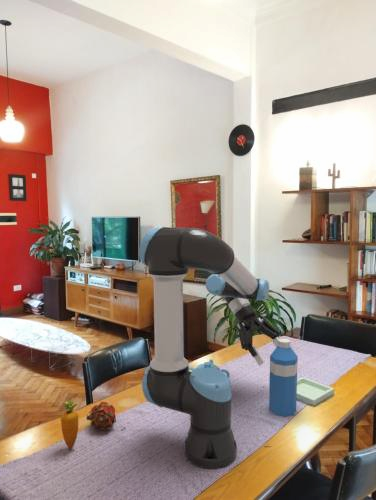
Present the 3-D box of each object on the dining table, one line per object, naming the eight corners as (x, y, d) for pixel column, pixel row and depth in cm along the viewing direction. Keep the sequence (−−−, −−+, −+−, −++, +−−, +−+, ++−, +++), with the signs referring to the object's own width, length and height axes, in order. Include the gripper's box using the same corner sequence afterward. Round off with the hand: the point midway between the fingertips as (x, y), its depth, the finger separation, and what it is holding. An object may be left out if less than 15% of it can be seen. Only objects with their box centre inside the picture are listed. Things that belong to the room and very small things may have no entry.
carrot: (72, 441, 119) (71, 394, 118) (82, 448, 116) (81, 399, 114) (58, 449, 115) (56, 400, 114) (68, 456, 112) (66, 405, 111)
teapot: (176, 389, 154) (176, 362, 153) (211, 378, 164) (211, 352, 163) (200, 405, 141) (201, 375, 140) (236, 392, 152) (236, 364, 150)
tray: (313, 407, 140) (313, 400, 140) (280, 393, 150) (281, 387, 150) (334, 395, 149) (334, 388, 149) (301, 382, 160) (302, 377, 159)
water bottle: (293, 404, 142) (295, 336, 140) (298, 417, 133) (300, 345, 130) (267, 402, 143) (268, 335, 141) (270, 416, 134) (271, 344, 131)
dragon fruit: (107, 442, 122) (95, 429, 132) (126, 419, 125) (114, 409, 136) (89, 424, 119) (79, 412, 130) (110, 401, 123) (98, 392, 133)
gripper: (257, 309, 161) (287, 355, 152) (214, 321, 145) (245, 373, 135) (268, 299, 157) (299, 345, 147) (225, 309, 140) (257, 362, 131)
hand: (273, 358), depth 141 cm, fingers open, 13 cm apart
